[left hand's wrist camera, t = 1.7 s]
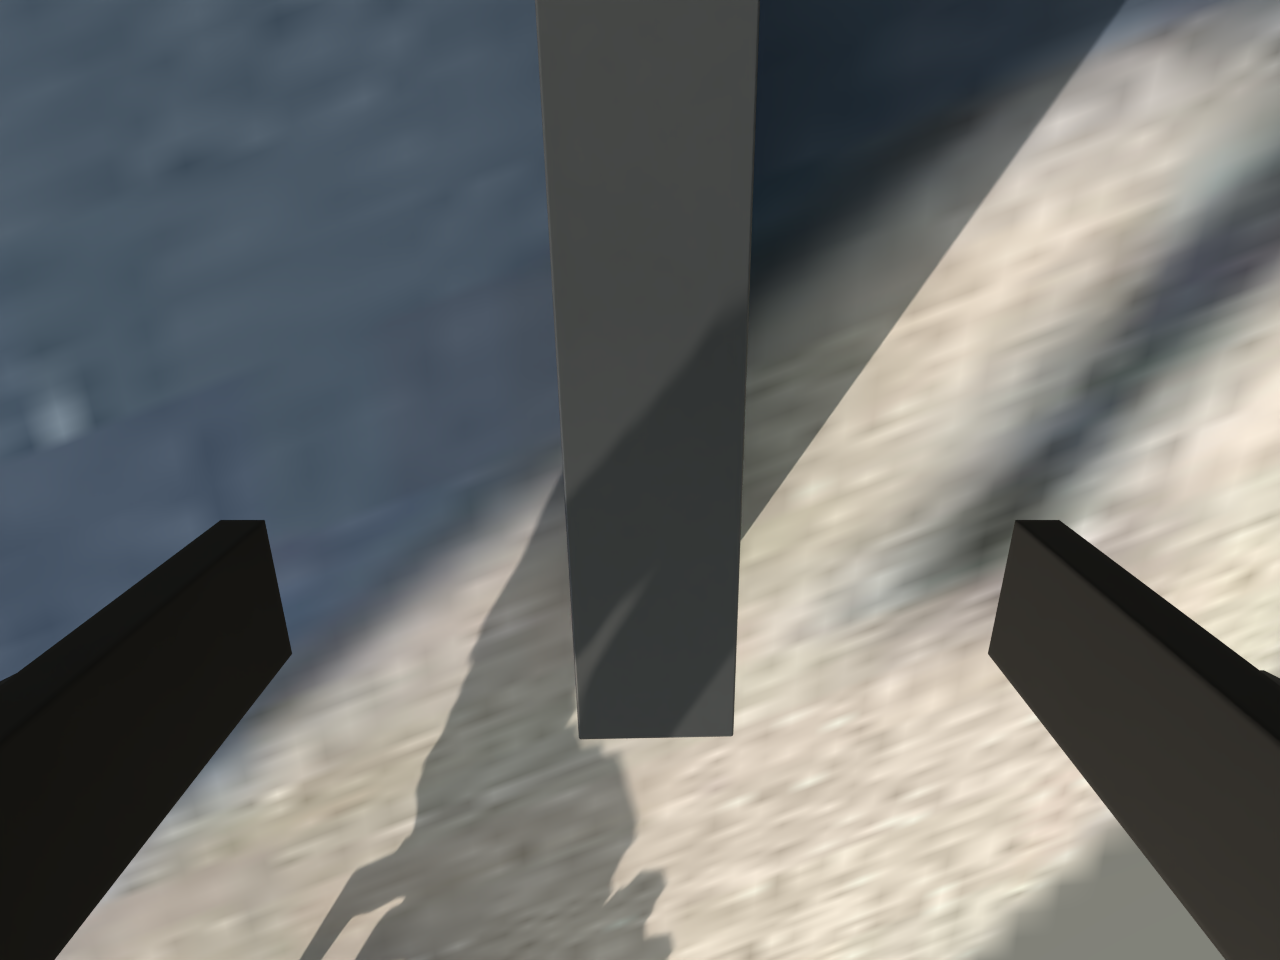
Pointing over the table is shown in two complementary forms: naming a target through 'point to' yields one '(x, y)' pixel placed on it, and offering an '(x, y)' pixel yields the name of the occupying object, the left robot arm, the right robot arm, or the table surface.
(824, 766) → the table surface
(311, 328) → the table surface
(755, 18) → the beam
